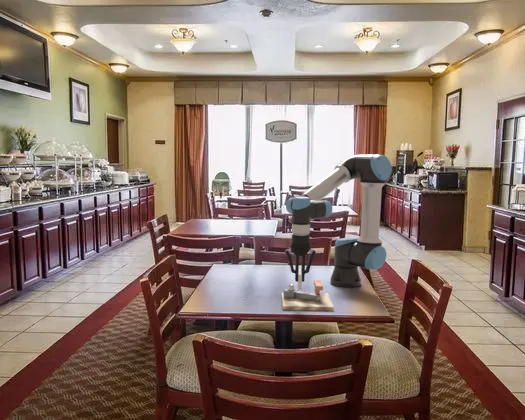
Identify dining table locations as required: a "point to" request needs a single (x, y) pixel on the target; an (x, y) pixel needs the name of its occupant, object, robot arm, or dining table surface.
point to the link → (301, 295)
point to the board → (308, 303)
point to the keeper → (318, 286)
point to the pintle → (291, 287)
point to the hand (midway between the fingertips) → (299, 288)
